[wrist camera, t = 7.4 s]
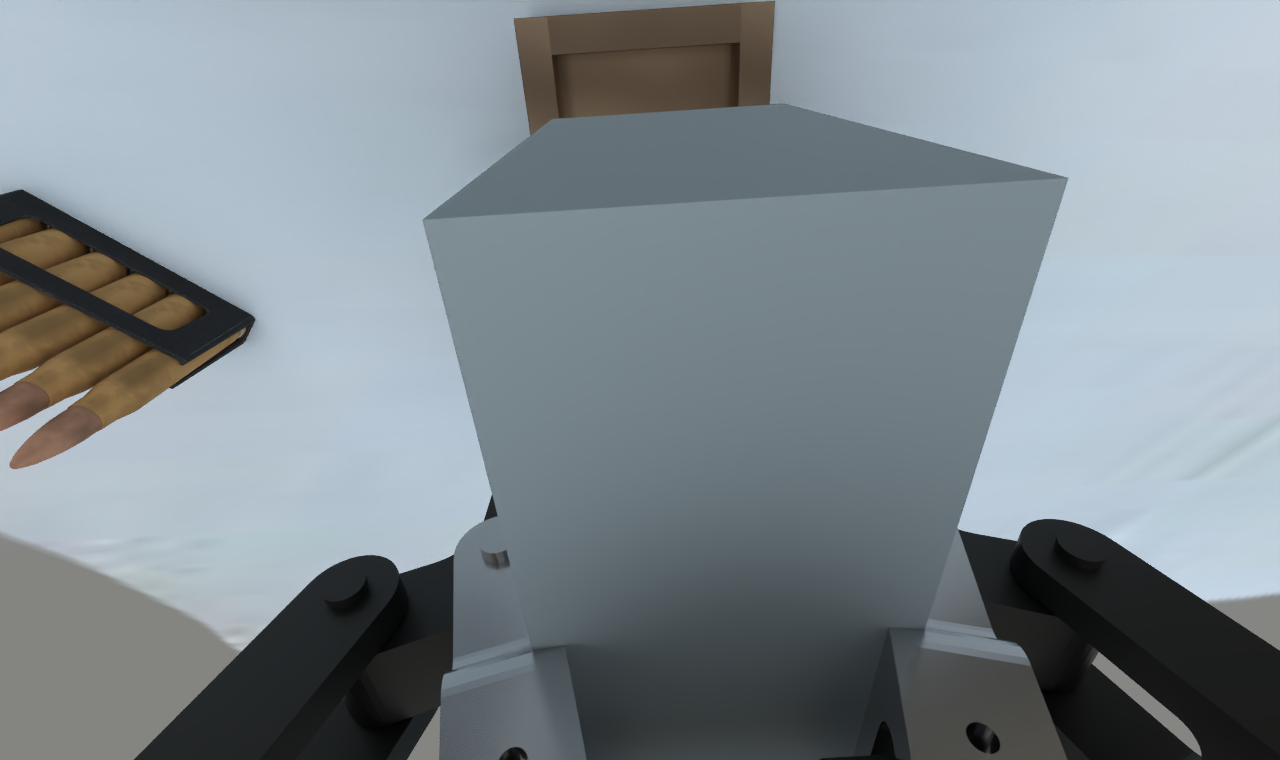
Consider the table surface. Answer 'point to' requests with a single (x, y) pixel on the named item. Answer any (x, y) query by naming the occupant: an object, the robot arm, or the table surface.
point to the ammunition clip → (94, 326)
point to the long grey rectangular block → (733, 403)
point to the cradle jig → (645, 60)
